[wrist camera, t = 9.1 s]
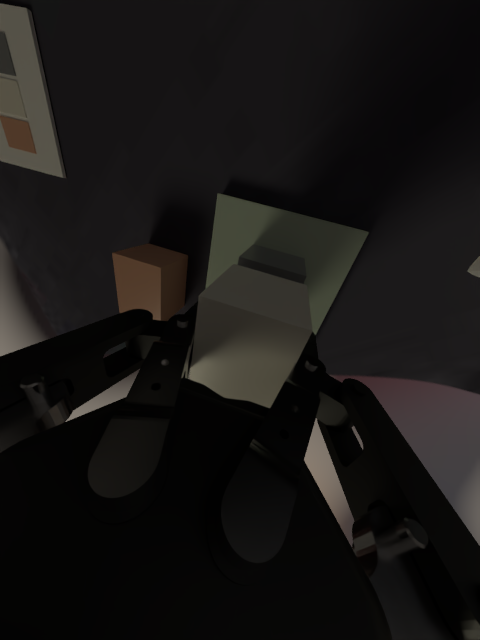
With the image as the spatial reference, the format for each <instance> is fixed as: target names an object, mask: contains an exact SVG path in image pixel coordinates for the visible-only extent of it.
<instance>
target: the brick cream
mask: <svg viewBox="0 0 480 640" xmlns="http://www.w3.org/2000/svg"><path fill="white" fill-rule="evenodd" d="M311 333H312V322H311V314H310V305H309V297H308V288H307V285H305V284H302V283H298V282H295V281H291V280H288V279H284V278H281V277H278V276H274V275H271V274H267V273H264V272H260V271H257V270H254V269H250V268H247V267H243V266H240V265H236V264H233V265H231V266H230V267H229V268H228V269H227V270H226V271H225V272H224V273H223V274H222V275H221V276H219V277H218V278H217V279H216V280H215V281H214V282H213V283H212V284H211V285H210V286H209V287H208V288H206V289H205V290H204V291H203V292H202V293H201V294H200V295H199V299H198V308H197V317H196V326H195V335H194V344H193V353H192V362H191V371H190V380H192V381H195V382H198V383H201V384H204V385H205V386H207V387H208V388H210V389H211V390H213V391H214V392H216V393H218V394H219V395H221V396H222V397H224V398H229V399H238V400H246V401H251V402H254V403H256V404H259V405H262V406H265V407H267V408H270V407H271V406H272V404H273V402H274V400H275V398H276V397H277V395H278V393H279V391H280V389H281V387H282V386H283V384H284V382H285V380H286V378H287V377H288V375H289V374H290V372H291V370H292V368H293V366H294V364H295V363H297V361H298V359H299V357H300V355H301V353H302V351H303V349H304V347H305V345H306V343H307V341H308V339H309V337H310V335H311Z"/></svg>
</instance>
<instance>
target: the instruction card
mask: <svg viewBox="0 0 480 640" xmlns="http://www.w3.org/2000/svg"><path fill="white" fill-rule="evenodd" d="M0 161H3V162H7V163H10V164H14V165H18V166H21V167H25V168H29V169H32V170H36V171H40V172H43V173H47V174H51V175H54V176H58V177H62V178H66V174H65V169H64V165H63V160H62V155H61V150H60V146H59V141H58V136H57V131H56V127H55V122H54V117H53V112H52V108H51V103H50V98H49V93H48V89H47V84H46V79H45V75H44V70H43V65H42V60H41V56H40V51H39V46H38V41H37V37H36V32H35V27H34V22H33V18H32V13H31V11H30V10H28V9H27V8H23V7H17V6H12V5H6V4H0Z"/></svg>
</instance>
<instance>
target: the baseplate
mask: <svg viewBox="0 0 480 640" xmlns="http://www.w3.org/2000/svg"><path fill="white" fill-rule="evenodd" d="M368 234H369V232H367V231H364V230H360V229H356V228H352V227H348V226H345V225H341V224H337V223H333V222H329V221H325V220H321V219H317V218H313V217H310V216H306V215H302V214H298V213H294V212H290V211H286V210H282V209H278V208H275V207H271V206H267V205H263V204H259V203H255V202H251V201H247V200H244V199H240V198H236V197H232V196H228V195H224V194H218V195H217V203H216V211H215V219H214V227H213V234H212V242H211V250H210V258H209V265H208V273H207V281H206V288H208V287H209V286H210V285H211V284H212V283H213V282H214V281H215V280H216V279H217V278H218V277H219V276H221V275H222V274H223V273H224V272H225V271H226V270H227V269H228V268H229V267H230V266H231V265H233V264H236V265H240V266H243V267H247V268H250V269H254V270H257V271H260V272H264V273H267V274H271V275H274V276H278V277H281V278H284V279H288V280H291V281H295V282H298V283H302V284H305V285H307V288H308V297H309V305H310V314H311V322H312V331H313V333H314V334H315V335H316V333H317V331H318V329H319V327H320V325H321V324H322V322H323V320H324V318H325V316H326V314H327V312H328V310H329V308H330V306H331V304H332V303H333V301H334V299H335V297H336V295H337V293H338V291H339V289H340V287H341V285H342V283H343V281H344V280H345V278H346V276H347V274H348V272H349V270H350V268H351V266H352V264H353V262H354V260H355V258H356V257H357V255H358V253H359V251H360V249H361V247H362V245H363V243H364V241H365V239H366V237H367V235H368Z"/></svg>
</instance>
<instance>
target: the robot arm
mask: <svg viewBox="0 0 480 640" xmlns="http://www.w3.org/2000/svg"><path fill="white" fill-rule="evenodd" d="M197 308H198V302H197V303H195V304H194V306H192V307H191V308H190V309H189V310H188V311H187V312H186V313H185V314H178V315H174V316H172V317H171V318H170V319H169V320H168V321H161V320H153V314H152V313H151V312H150V311H148V310H145V309H132V310H128V311H125V312H123V313H120V314H117V315H114V316H112V317H109V318H106V319H103V320H101V321H98V322H95V323H92V324H89V325H87V326H84V327H81V328H78V329H76V330H73V331H70V332H67V333H64V334H62V335H59V336H56V337H54V338H51V339H48V340H45V341H42V342H39V343H37V344H34V345H31V346H28V347H26V348H23V349H20V350H17V351H15V352H12V353H9V354H6V355H3V356H1V357H0V640H480V546H479V545H478V543H477V542H476V540H475V539H474V537H473V536H472V535H471V533H470V532H469V530H468V529H467V527H466V526H465V524H464V523H463V522H462V520H461V519H460V517H459V516H458V514H457V513H456V512H455V510H454V509H453V507H452V506H451V504H450V503H449V502H448V500H447V499H446V497H445V496H444V494H443V493H442V491H441V490H440V489H439V487H438V486H437V484H436V483H435V481H434V480H433V479H432V477H431V476H430V474H429V473H428V471H427V470H426V469H425V467H424V466H423V464H422V463H421V461H420V460H419V458H418V457H417V456H416V454H415V453H414V452H413V450H412V448H411V447H410V446H409V444H408V443H407V441H406V440H405V438H404V437H403V436H402V434H401V433H400V431H399V430H398V428H397V427H396V425H395V424H394V423H393V421H392V420H391V418H390V417H389V416H388V414H387V413H386V411H385V410H384V408H383V407H382V405H381V404H380V403H379V401H378V400H377V398H376V397H375V395H374V394H373V392H372V391H371V390H370V389H369V388H368V387H367V386H366V385H364V384H363V383H362V382H360V381H358V380H355V379H351V378H348V379H345V380H344V381H343V382H342V383H341V382H340V381H338V380H336V379H334V378H333V377H331V376H329V375H328V374H327V373H326V368H325V365H324V364H323V363H322V362H321V361H320V360H319V359H318V352H317V346H316V337H315V334H314V333H313V331H312V333H311V335H310V337H309V339H308V341H307V343H306V345H305V347H304V349H303V351H302V353H301V355H300V357H299V359H298V361H297V363H295V364H294V366H293V368H292V370H291V372H290V374H289V375H288V377H287V378H286V380H285V382H284V384H283V386H282V387H281V389H280V391H279V393H278V395H277V397H276V398H275V400H274V402H273V404H272V406H271V407H270V408H267V407H265V406H262V405H259V404H256V403H254V402H251V401H246V400H238V399H229V398H224V397H222V396H221V395H219V394H218V393H216V392H214V391H213V390H211V389H210V388H208V387H207V386H205V385H204V384H201V383H198V382H195V381H192V380H190V379H188V378H189V372H190V368H191V362H192V353H193V344H194V335H195V326H196V317H197ZM123 342H125V343H126V347H125V348H123V349H121V350H119V351H117V352H115V353H113V354H111V355H109V356H107V357H105V358H103V356H104V354H105V353H106V351H108V350H109V349H111V348H113V347H115V346H117V345H119V344H121V343H123ZM138 369H140V370H139V373H138V375H137V377H136V379H135V381H134V383H133V385H132V387H131V389H130V391H129V393H128V395H127V397H126V398H123V399H121V400H118V401H116V402H113V403H111V404H108V405H106V406H104V407H101V408H99V409H96V410H94V411H92V412H89V413H87V414H84V415H82V416H79V417H77V418H74V419H72V420H70V421H67V422H65V421H66V420H67V419H68V418H69V417H70V415H71V414H72V412H73V410H75V409H76V408H78V407H79V406H81V405H83V404H84V403H86V402H87V401H89V400H91V399H92V398H93V397H95V396H97V395H99V394H100V393H102V392H103V391H105V390H106V389H108V388H110V387H111V386H112V385H114V384H116V383H117V382H119V381H121V380H122V379H124V378H125V377H127V376H129V375H130V374H132V373H133V372H135V371H137V370H138ZM315 418H317V421H318V424H319V427H320V430H321V433H322V435H323V438H324V441H325V443H326V446H327V449H328V451H329V454H330V456H331V459H332V462H333V465H334V467H335V470H336V473H337V475H338V478H339V481H340V483H341V486H342V489H343V491H344V494H345V496H346V499H347V502H348V505H349V507H350V510H351V513H352V515H353V518H354V523H353V527H352V537H353V544H352V547H351V545H350V544H349V542H348V540H347V538H346V536H345V535H344V533H343V531H342V529H341V528H340V525H339V524H338V522H337V520H336V518H335V516H334V514H333V513H332V511H331V509H330V507H329V505H328V504H327V502H326V500H325V498H324V496H323V494H322V493H321V491H320V489H319V487H318V485H317V483H316V482H315V480H314V478H313V476H312V474H311V472H310V471H309V469H308V467H307V465H306V464H305V461H304V457H305V453H306V450H307V447H308V443H309V440H310V436H311V433H312V429H313V426H314V422H315ZM353 426H355V428H356V430H357V432H358V434H359V436H360V438H361V440H362V442H363V450H362V448H361V446H360V444H359V442H358V440H357V438H356V436H355V434H354V432H353V430H352V427H353Z"/></svg>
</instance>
